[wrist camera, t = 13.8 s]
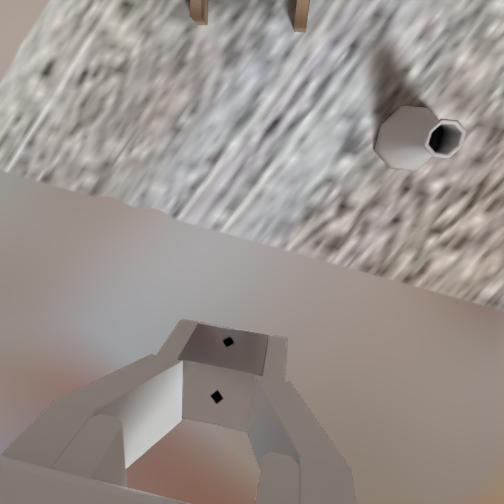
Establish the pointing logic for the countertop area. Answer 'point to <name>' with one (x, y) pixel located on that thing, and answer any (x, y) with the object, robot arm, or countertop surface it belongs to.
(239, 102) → the countertop surface
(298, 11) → the walnut bay
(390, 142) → the flask
